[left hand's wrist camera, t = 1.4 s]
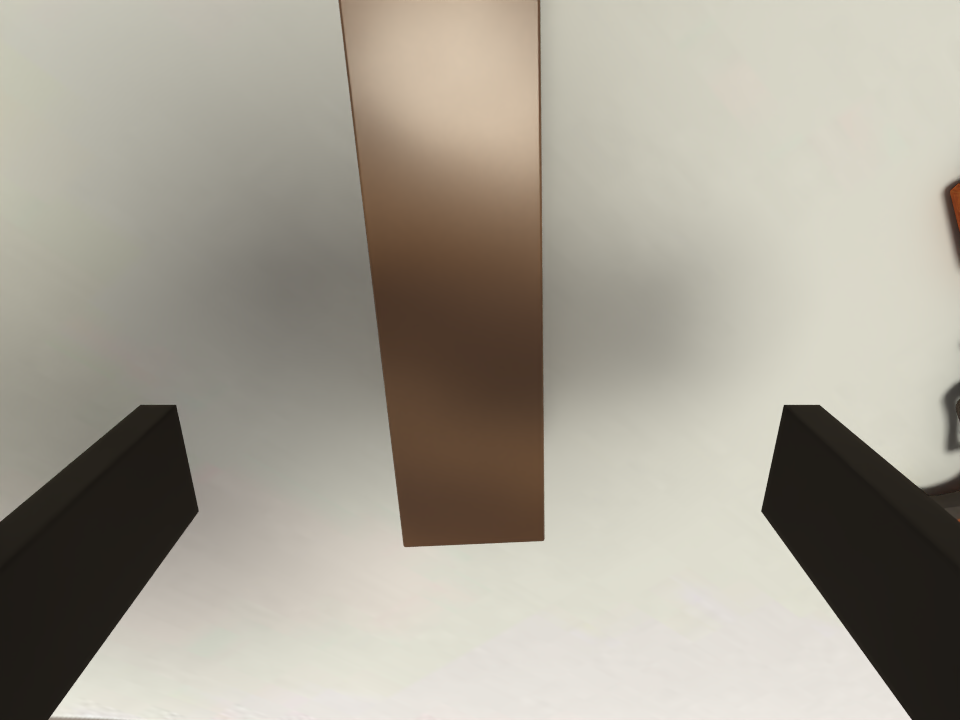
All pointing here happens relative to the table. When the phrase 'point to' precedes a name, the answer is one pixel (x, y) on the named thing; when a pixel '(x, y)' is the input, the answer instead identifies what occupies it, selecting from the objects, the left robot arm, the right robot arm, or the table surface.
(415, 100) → the beam
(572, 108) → the table surface
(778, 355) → the table surface
